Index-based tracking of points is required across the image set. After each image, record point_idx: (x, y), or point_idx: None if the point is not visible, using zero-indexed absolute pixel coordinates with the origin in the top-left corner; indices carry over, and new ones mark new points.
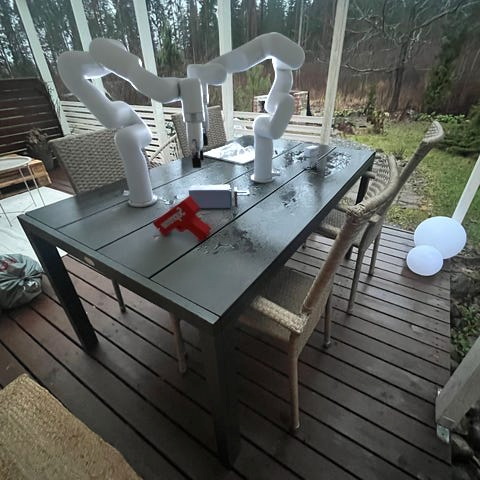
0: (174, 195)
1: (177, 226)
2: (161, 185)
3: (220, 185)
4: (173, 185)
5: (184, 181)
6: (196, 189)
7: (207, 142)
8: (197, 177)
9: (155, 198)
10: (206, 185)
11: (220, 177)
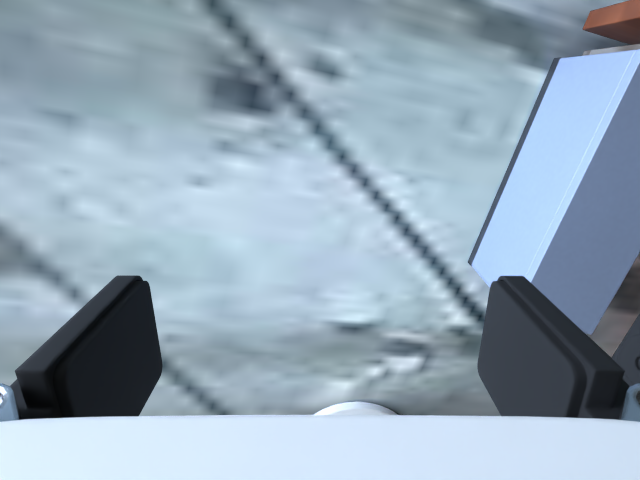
0: (327, 331)
1: None
2: (174, 380)
3: (624, 127)
4: (185, 328)
5: (128, 269)
6: (606, 292)
7: (540, 299)
8: (61, 184)
9: (367, 413)
10: (572, 224)
11: (74, 15)
